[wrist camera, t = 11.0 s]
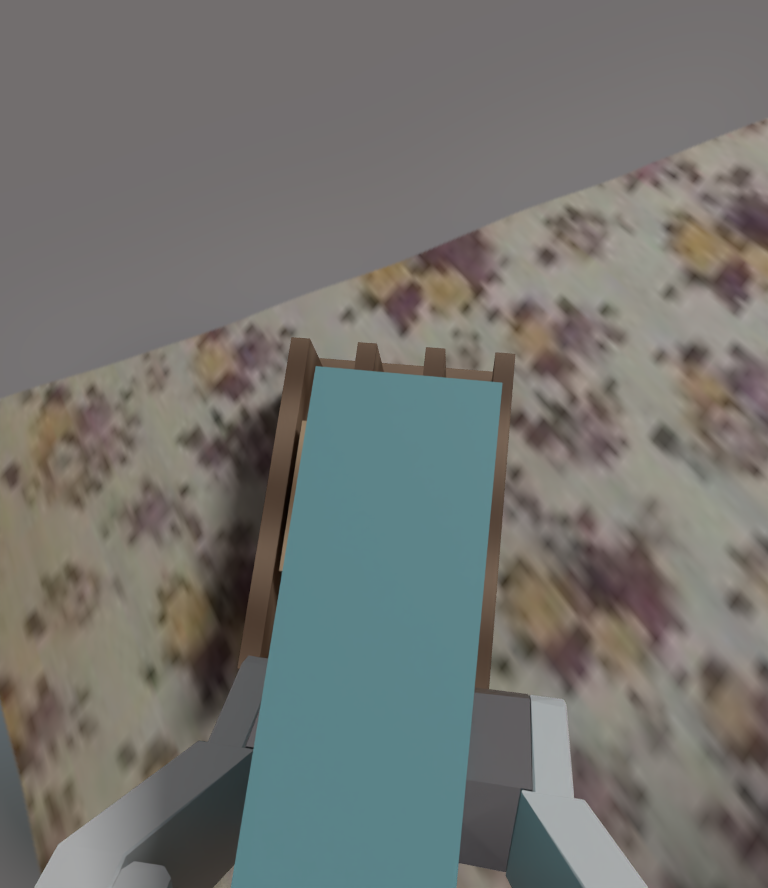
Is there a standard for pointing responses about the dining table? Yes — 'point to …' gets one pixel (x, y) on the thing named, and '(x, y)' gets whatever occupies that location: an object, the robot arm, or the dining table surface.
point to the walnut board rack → (282, 475)
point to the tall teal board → (374, 638)
